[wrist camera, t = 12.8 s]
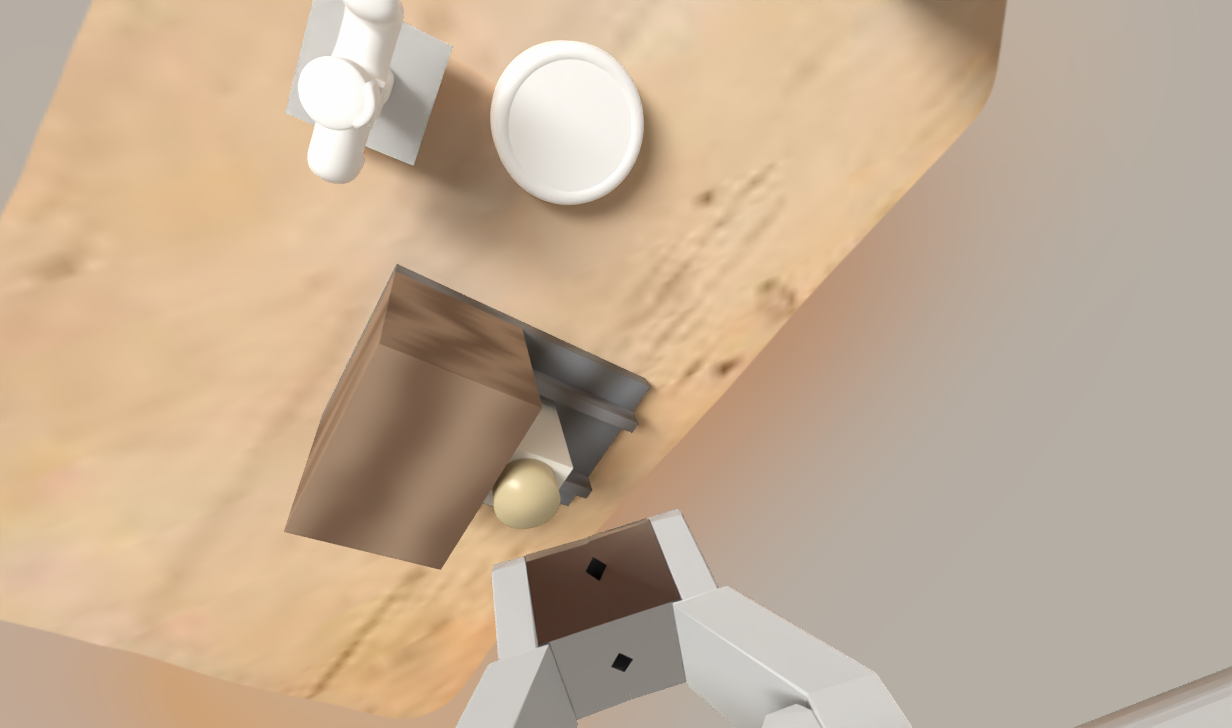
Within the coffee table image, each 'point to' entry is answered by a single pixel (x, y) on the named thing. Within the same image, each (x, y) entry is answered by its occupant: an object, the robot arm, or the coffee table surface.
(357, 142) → the figurine
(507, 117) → the coaster
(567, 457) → the knob
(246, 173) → the coffee table surface
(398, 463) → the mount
